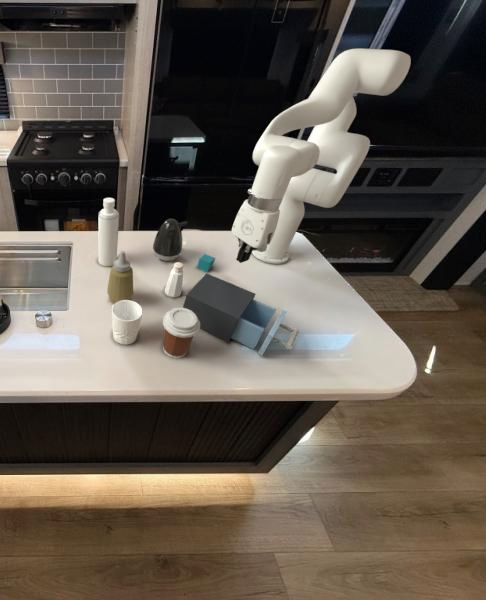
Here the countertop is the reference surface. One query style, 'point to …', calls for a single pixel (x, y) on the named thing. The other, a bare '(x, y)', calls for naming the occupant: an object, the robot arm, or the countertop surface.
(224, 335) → the dark grey drawer cabinet
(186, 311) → the coffee cup
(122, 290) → the squeeze bottle
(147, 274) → the countertop surface
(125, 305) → the white cup
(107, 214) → the white bottle
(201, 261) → the teal cube
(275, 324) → the drawer
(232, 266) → the countertop surface
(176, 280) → the pepper shaker
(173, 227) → the pump dispenser
